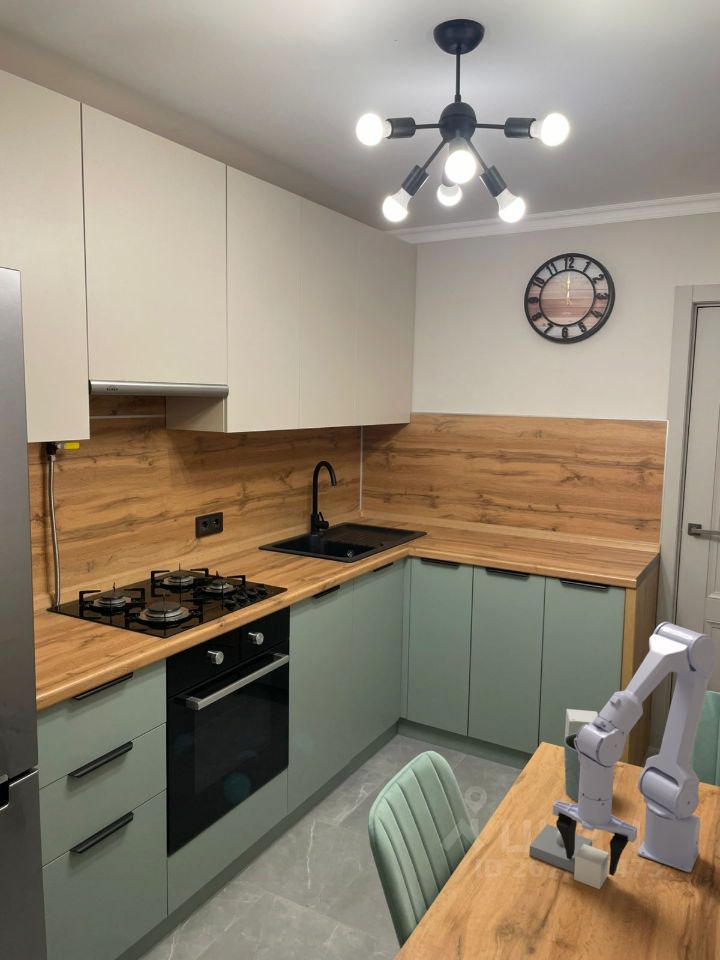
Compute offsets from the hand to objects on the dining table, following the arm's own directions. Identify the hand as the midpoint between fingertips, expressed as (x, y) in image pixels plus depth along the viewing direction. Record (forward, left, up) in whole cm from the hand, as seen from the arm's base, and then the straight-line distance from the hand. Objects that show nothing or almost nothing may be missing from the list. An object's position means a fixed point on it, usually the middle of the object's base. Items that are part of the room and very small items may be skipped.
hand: (591, 864), depth 131 cm
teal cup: (+10, -28, -3) cm, 30 cm away
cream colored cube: (0, 0, -3) cm, 3 cm away
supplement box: (+15, -40, -3) cm, 43 cm away
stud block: (+7, -4, -3) cm, 9 cm away
